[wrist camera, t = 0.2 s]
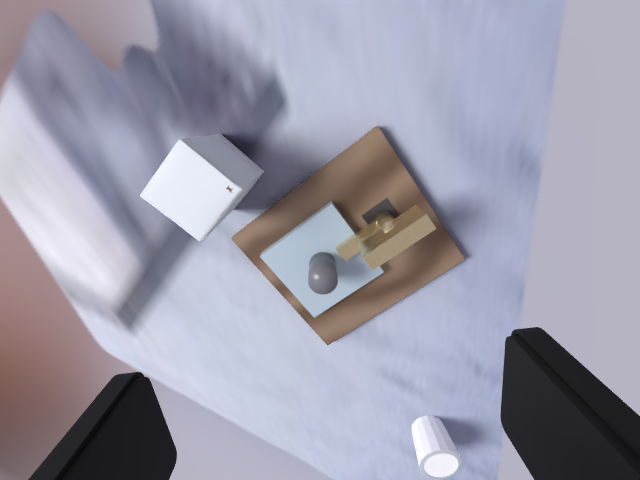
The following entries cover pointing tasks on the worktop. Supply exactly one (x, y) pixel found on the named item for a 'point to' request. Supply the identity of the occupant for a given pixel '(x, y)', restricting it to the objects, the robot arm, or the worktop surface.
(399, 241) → the key
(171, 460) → the robot arm
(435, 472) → the shot glass
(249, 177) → the supplement box
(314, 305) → the lid
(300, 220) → the board
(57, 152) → the worktop surface
